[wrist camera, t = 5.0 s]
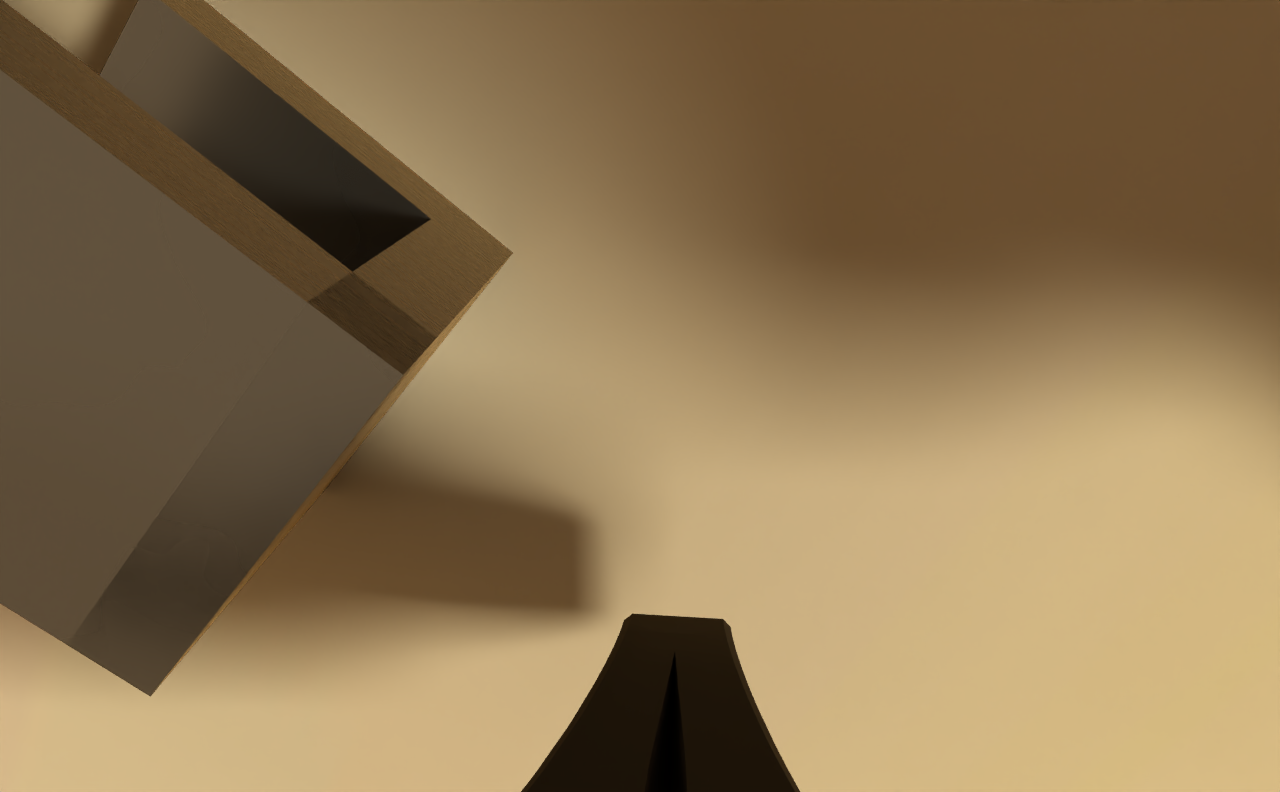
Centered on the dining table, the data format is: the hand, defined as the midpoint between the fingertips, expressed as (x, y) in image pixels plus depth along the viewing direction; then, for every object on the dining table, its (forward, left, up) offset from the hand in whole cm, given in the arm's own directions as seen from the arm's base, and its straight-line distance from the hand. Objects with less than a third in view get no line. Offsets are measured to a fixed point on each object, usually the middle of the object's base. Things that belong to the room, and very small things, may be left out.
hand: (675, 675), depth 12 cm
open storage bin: (+8, 0, -2) cm, 8 cm away
